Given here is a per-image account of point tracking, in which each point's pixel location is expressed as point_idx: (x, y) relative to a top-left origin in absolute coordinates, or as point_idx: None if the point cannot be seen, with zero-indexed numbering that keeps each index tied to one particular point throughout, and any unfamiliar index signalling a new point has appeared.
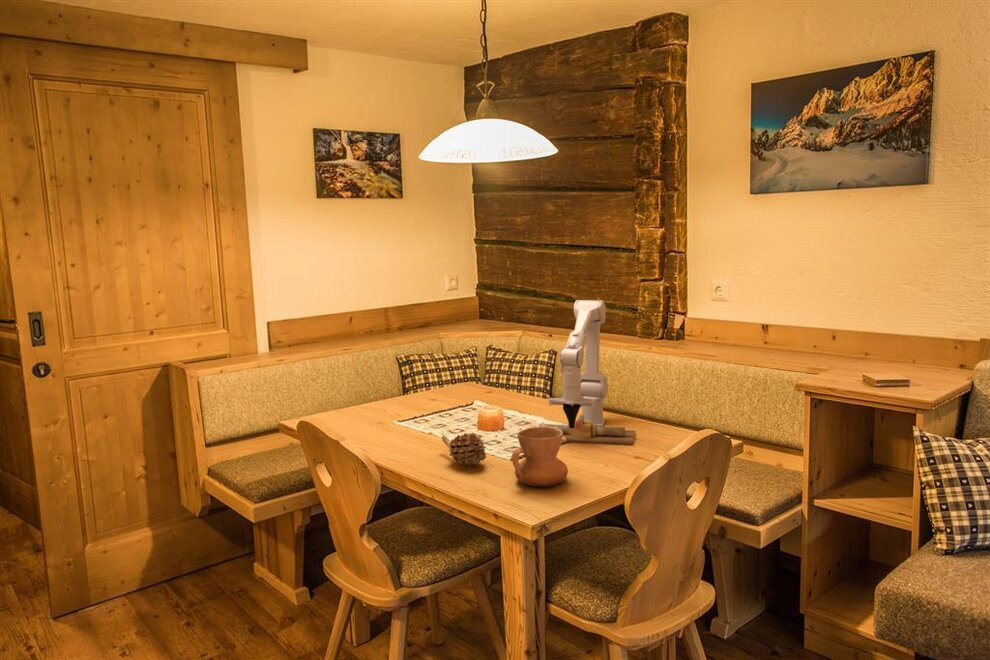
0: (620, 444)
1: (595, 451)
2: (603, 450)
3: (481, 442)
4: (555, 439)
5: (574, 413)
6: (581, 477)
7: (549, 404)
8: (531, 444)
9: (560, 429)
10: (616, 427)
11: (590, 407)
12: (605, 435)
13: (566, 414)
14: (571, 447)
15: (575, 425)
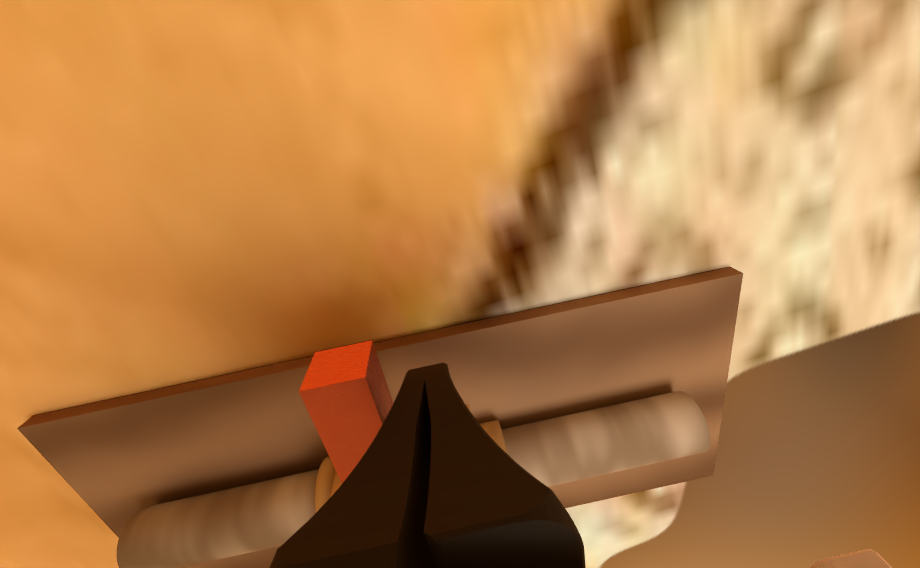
0: (115, 400)
1: (191, 210)
2: (150, 255)
3: None
4: None
5: (367, 493)
6: None
7: (875, 565)
8: None
9: (552, 435)
10: (177, 556)
11: None
12: (268, 480)
13: (490, 450)
14: (403, 238)
15: (367, 365)
